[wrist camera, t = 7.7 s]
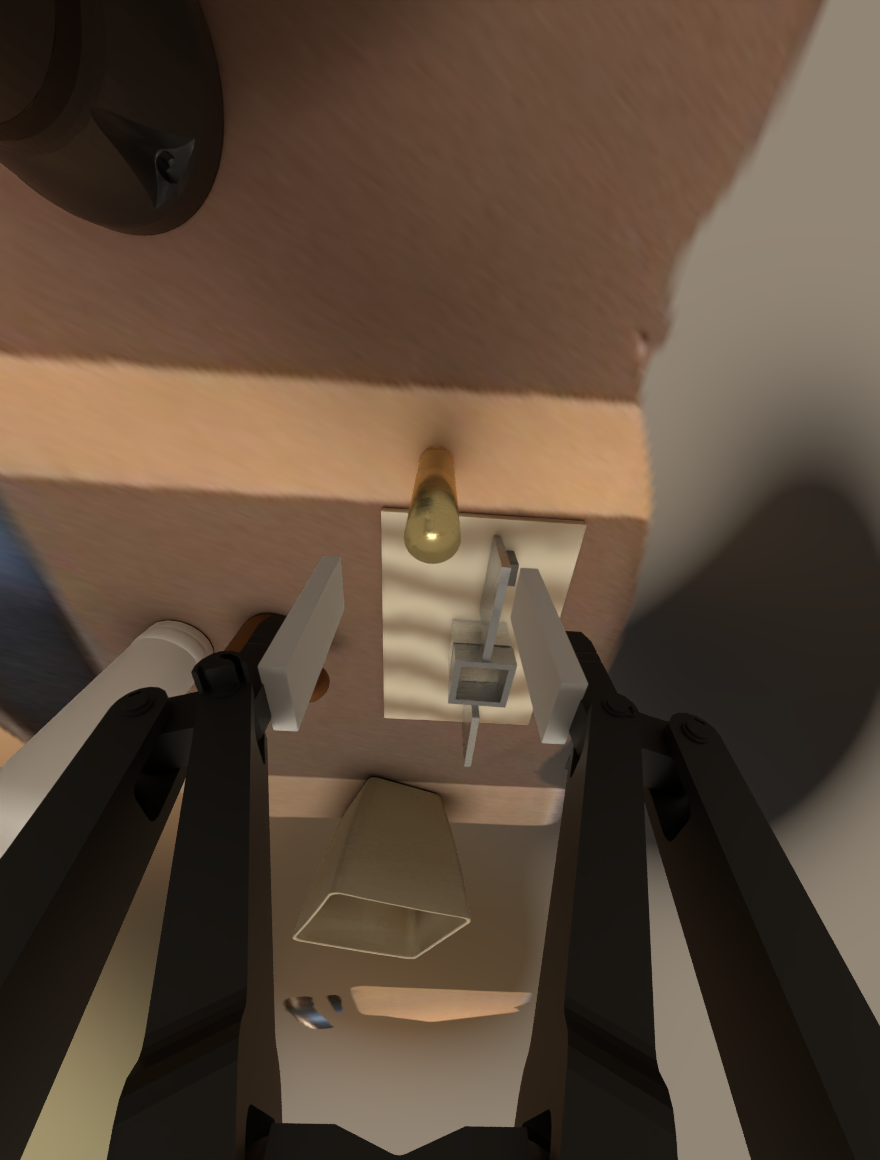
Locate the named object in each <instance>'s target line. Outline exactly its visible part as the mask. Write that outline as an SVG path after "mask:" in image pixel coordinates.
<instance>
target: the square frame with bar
mask: <svg viewBox="0 0 880 1160" xmlns="http://www.w3.org/2000/svg"><path fill="white" fill-rule="evenodd" d="M510 572H511V565H510V562H509V559H508V555H507V552H506V549H505V546H504V543H503V540H502V537H498V536H494V537H493V542H492V547H491V552H490V557H489V563H488V568H487V573H486V578H485V584H484V589H483V594H482V599H481V604H480V617H481V624H482V632H483V634H482V639H481V644H480V646H477V645H465V644H454V649H453V655H452V662H451V668H450V674H449V681H448V703H449V704H462V705H476V706H489V707H503V708H505V707H506V704H507V700H508V697H509V693H510V690H511V686H512V682H513V679H514V675H515V672H516V668H517V662H516V658H515V654H514V650H513V648H502V647H493V646H494V642H495V637H496V633H497V629H498V624H499V620H500V616H501V611H502V607H503V602H504V598H505V594H506V589H507V585H508V581H509V576H510ZM461 666H463V667H476V668H488V669H501V672H500V676H499V680H498V684H497V685H492V684H479V683H466V682H459V676H460V670H461Z"/></svg>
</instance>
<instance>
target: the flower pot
mask: <svg viewBox="0 0 880 1160" xmlns="http://www.w3.org/2000/svg"><path fill="white" fill-rule="evenodd" d="M470 921H471V920H470V912H469V906H468V900H467V895H466V889H465V884H464V879H463V874H462V870H461V865H460V861H459V857H458V853H457V849H456V846H455V841H454V838H453V835H452V831H451V828H450V824H449V821H448V818H447V815H446V812H445V809H444V806H443V804H442V801H441V799H440V796H439V795H437V794H434V793H430V792H427V791H424V790H420V789H417V788H413V787H409V786H406V785H402V784H398V783H395V782H391V781H388V780H384V779H380V778H377V777H371V778H369V779H368V780H367V782H366V783H365V784H364V786H363V787H362V789H361V790H360V792H359V793H358V794H357V796H356V797H355V799H354V800H353V801H352V803H351V804H350V806H349V807H348V809H347V810H346V812H345V814H344V816H343V818H342V819H341V821H340V823H339V825H338V827H337V829H336V831H335V834H334V836H333V838H332V840H331V842H330V844H329V846H328V848H327V851H326V853H325V855H324V857H323V860H322V862H321V864H320V866H319V869H318V871H317V874H316V876H315V878H314V881H313V883H312V886H311V888H310V891H309V893H308V896H307V899H306V901H305V904H304V907H303V909H302V912H301V915H300V917H299V920H298V923H297V926H296V929H295V932H294V935H293V939H294V940H297V941H301V942H307V943H313V944H319V945H324V946H330V947H336V948H342V949H348V950H355V951H360V952H366V953H373V954H379V955H387V956H394V957H399V958H405V959H415V958H417V957H419V956H420V955H422V954H423V953H425V952H426V951H428V950H429V949H431V948H432V947H434V946H435V945H437V944H438V943H440V942H441V941H443V940H444V939H446V938H447V937H449V936H450V935H452V934H453V933H455V932H456V931H458V930H459V929H460V928H462V927H464V926H465V925H467V924H468V923H469V922H470Z"/></svg>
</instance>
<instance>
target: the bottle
mask: <svg viewBox="0 0 880 1160" xmlns="http://www.w3.org/2000/svg"><path fill="white" fill-rule="evenodd" d="M210 654H213V648H212V646H211V644H210V642H209V640H208V639H207V638H206V637H205V636H204V635H203V634H202V633H201V632H200V631H198V630H197V629H195V628H194V627H192V626H190V625H187V624H184V623H182V622H177V621H168V620H167V621H161V622H157V623H155V624H153V625H152V626H150V627H149V628H148V629H147V630H146V631H145V632H143V633H142V634H140V635H139V636H138V637H137V638H136V639H135V640H134V641H133V642H132V643H131V645H130V646H129V647H128V648H127V649H126V650H125V651H124V652H123V653H122V654H120V655H119V656H118V657H117V658H116V659H115V660H114V661H113V662H112V663H111V664H110V665H109V666H108V667H107V668H106V669H105V670H104V671H102V672H101V673H100V674H99V675H98V676H97V677H96V678H95V679H94V680H93V681H92V682H91V683H90V684H89V685H88V686H87V687H85V688H84V689H83V690H82V691H81V692H80V693H79V694H78V695H77V696H76V697H75V698H74V699H73V700H72V701H71V702H70V703H69V704H67V705H66V706H65V707H64V708H63V709H62V710H61V711H60V712H59V713H58V714H57V715H56V716H55V717H54V718H53V719H52V720H51V721H49V722H48V723H47V724H46V725H45V726H44V727H43V728H42V729H41V730H40V731H39V732H38V733H37V734H36V735H35V736H34V737H32V738H31V739H30V740H29V741H28V742H27V743H26V744H25V745H24V746H23V747H22V748H21V749H20V750H19V751H18V752H17V753H16V754H15V755H13V756H12V757H11V758H10V759H9V760H8V761H7V762H6V763H5V764H4V765H3V766H2V767H1V768H0V859H1V857H2V856H3V854H4V853H5V852H6V850H7V849H8V848H9V846H10V845H11V843H12V842H13V841H14V839H15V838H16V836H17V835H18V834H19V832H20V831H21V830H22V828H23V827H24V825H25V824H26V823H27V821H28V820H29V819H30V817H31V816H32V814H33V813H34V812H35V810H36V809H37V808H38V806H39V805H40V803H41V802H42V801H43V799H44V798H45V797H46V795H47V794H48V792H49V791H50V790H51V788H52V787H53V785H54V784H55V783H56V781H57V780H58V779H59V777H60V776H61V774H62V773H63V772H64V770H65V769H66V768H67V766H68V765H69V763H70V762H71V761H72V759H73V758H74V757H75V755H76V754H77V752H78V751H79V750H80V748H81V747H82V745H83V744H84V743H85V741H86V740H87V739H88V737H89V736H90V734H91V733H92V732H93V730H94V729H95V728H96V726H97V725H98V723H99V722H100V721H101V719H102V718H103V717H104V715H105V714H106V712H107V711H108V710H109V708H110V707H111V706H112V705H113V704H114V703H115V702H116V701H117V700H118V699H120V698H121V697H123V696H124V695H126V694H127V693H130V692H132V691H135V690H137V689H140V688H146V687H160V688H161V689H163V690H165V691H166V693H167V695H168V697H174V696H179V695H184V694H186V693H187V692H188V690H189V689H190V688H191V686H192V685H193V684H194V679H193V677H192V674H191V672H192V670H193V668H194V666H195V665H196V664H197V663H198V662H199V661H200V660H201V659H203V658H205V657H207V656H209V655H210Z"/></svg>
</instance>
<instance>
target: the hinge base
mask: <svg viewBox="0 0 880 1160" xmlns="http://www.w3.org/2000/svg"><path fill="white" fill-rule="evenodd" d="M506 552H507V555H508V559H509V562H510V565H511V572H510V576H509V581H508V585H507V586H514V587H515V583H516V578H517V573H518V568H519V563H518V561H517V558H516V555H515V552H514V551H510V550H506ZM482 634H483V632H482V624H481V621H477V620H460V619H452V627H451V637H450V646H449V656H448V681H449V674H450V668H451V662H452V655H453V649H454V644H465V645H477V646H480V644H481V639H482ZM493 647H502V648H512V644H511V639H510V635H509V631H508V626H507V622H499V624H498V629H497V633H496V637H495V642H494V646H493ZM500 672H501V669H488V668H476V667H463V666H461V670H460V676H459V682H466V683H479V684H492V685H497V684H498V680H499V676H500ZM479 719H480V716H479V706H476V705H463V712H462V737H463V756H464V766H466V767H471V762H472V756H473V751H474V746H475V740H476V735H477V729H478V724H479Z"/></svg>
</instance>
